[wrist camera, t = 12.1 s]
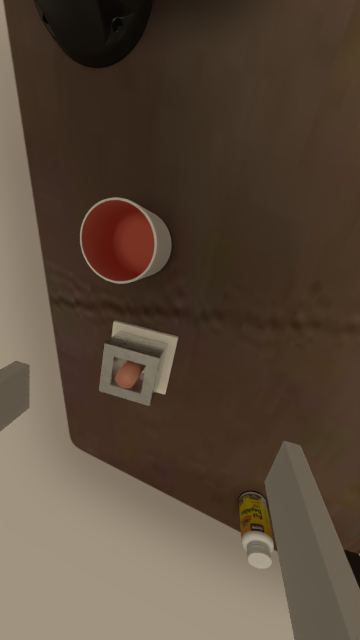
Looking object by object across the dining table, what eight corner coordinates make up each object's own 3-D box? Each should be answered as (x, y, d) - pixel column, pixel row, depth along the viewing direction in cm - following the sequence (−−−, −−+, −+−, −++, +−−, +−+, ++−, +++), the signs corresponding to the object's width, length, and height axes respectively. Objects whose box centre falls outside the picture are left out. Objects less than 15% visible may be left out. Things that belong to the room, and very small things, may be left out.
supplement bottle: (261, 488, 48) (271, 548, 38) (269, 507, 49) (281, 571, 39) (234, 491, 49) (238, 551, 39) (243, 511, 50) (249, 573, 40)
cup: (149, 287, 39) (127, 299, 30) (103, 250, 39) (65, 249, 29) (185, 239, 36) (173, 234, 27) (136, 197, 36) (105, 177, 26)
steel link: (120, 330, 42) (104, 343, 36) (167, 343, 41) (159, 358, 35) (114, 373, 44) (98, 390, 39) (158, 385, 44) (149, 406, 38)
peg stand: (115, 319, 42) (92, 334, 34) (178, 336, 41) (169, 355, 33) (108, 375, 46) (86, 400, 38) (166, 392, 45) (154, 420, 37)
